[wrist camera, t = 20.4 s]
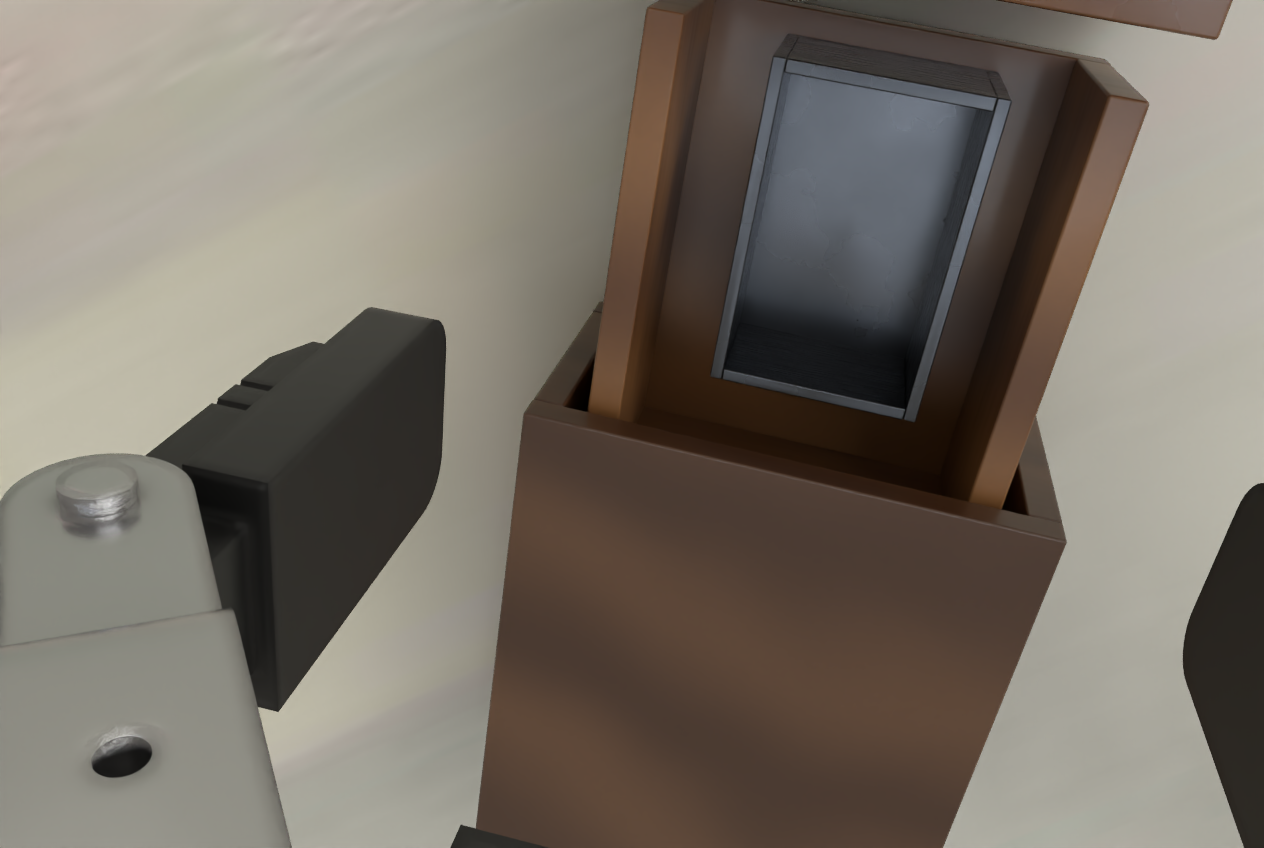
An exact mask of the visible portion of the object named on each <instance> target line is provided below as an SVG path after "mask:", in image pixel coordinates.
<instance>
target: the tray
mask: <svg viewBox="0 0 1264 848" xmlns="http://www.w3.org/2000/svg"><path fill="white" fill-rule="evenodd" d="M1011 104H1012V100H1011V98H1010V96H1009V94H1008V91H1007V89H1006V87H1005V85H1004V83H1003V81H1002V78H1001V76H1000V74H999V73H998V72H995V71H989V70H984V69H979V68H973V67H968V66H962V65H957V64H951V63H946V62H941V61H935V60H930V59H924V58H919V57H914V56H908V55H903V54H897V53H892V52H886V51H881V50H876V49H870V48H865V47H859V46H854V45H848V44H843V43H838V42H832V41H827V40H821V39H816V38H811V37H805V36H799V35H794V34H787V35H786V37H785V38H784V40H783V41H782V43H781V45H780V46H779V48H778V49H777V51H776V52H775V54H774V56H773V57H772V62H771V67H770V72H769V77H768V82H767V87H766V92H765V97H764V103H763V108H762V113H761V118H760V123H759V128H758V133H757V138H756V143H755V148H754V153H753V158H752V163H751V169H750V174H749V179H748V184H747V189H746V194H745V199H744V204H743V209H742V214H741V219H740V224H739V229H738V235H737V240H736V245H735V250H734V255H733V260H732V265H731V270H730V275H729V280H728V285H727V290H726V295H725V300H724V306H723V311H722V316H721V321H720V326H719V331H718V336H717V341H716V346H715V351H714V356H713V361H712V366H711V372H710V377H713V378H717V379H721V378H722V379H723V380H726V381H731V382H735V383H740V384H744V385H749V386H753V387H758V388H762V389H766V390H771V391H775V392H780V393H784V394H789V395H793V396H798V397H802V398H807V399H811V400H816V401H820V402H825V403H829V404H834V405H838V406H842V407H847V408H851V409H856V410H860V411H865V412H869V413H874V414H878V415H883V416H887V417H892V418H896V419H901V420H902V419H903V420H905V421H910V422H915V421H916V418H917V415H918V412H919V408H920V405H921V402H922V398H923V395H924V392H925V388H926V385H927V382H928V378H929V375H930V372H931V369H932V365H933V362H934V359H935V355H936V352H937V349H938V345H939V342H940V339H941V335H942V332H943V329H944V325H945V322H946V319H947V316H948V312H949V309H950V306H951V302H952V299H953V296H954V292H955V289H956V286H957V282H958V279H959V276H960V272H961V269H962V266H963V263H964V259H965V256H966V253H967V249H968V246H969V243H970V239H971V236H972V233H973V229H974V226H975V223H976V219H977V216H978V213H979V210H980V206H981V203H982V200H983V196H984V193H985V190H986V186H987V183H988V180H989V176H990V173H991V170H992V166H993V163H994V160H995V157H996V153H997V150H998V147H999V143H1000V140H1001V137H1002V133H1003V130H1004V127H1005V123H1006V120H1007V117H1008V113H1009V110H1010V107H1011Z"/></svg>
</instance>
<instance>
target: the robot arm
mask: <svg viewBox="0 0 1264 848" xmlns="http://www.w3.org/2000/svg"><path fill="white" fill-rule="evenodd" d="M445 363H446V336H445V330H444V327H443V325H442V323H441V322H440V321H439V320H434V319H429V318H424V317H419V316H414V315H409V314H403V313H398V312H393V311H388V310H383V309H378V308H373V307H370V308H367V309H366V310H364V311H363V312H362V313H361V314H359V315H358V316H357V317H356V318H355V319H354V320H352V321H351V322H350V323H349V324H348V325H346V326H345V327H344V328H343V329H342V330H340V331H339V332H338V333H337V334H336V335H335V336H333V337H332V338H331V339H330V340H329V341H327V342H326V343H325V344H322V343H317V342H311V343H308V344H305V345H303V346H300V347H297V348H294V349H292V350H289V351H286V352H283V353H281V354H278V355H275V356H272V357H270V358H268V359H267V360H266V361H265V362H263V363H262V364H261V365H260V366H258V367H257V368H256V369H254V370H253V371H252V372H251V373H249V374H248V375H247V376H246V377H244V378H243V379H242V380H241V384H240V385H236V384H235V385H234V386H233V387H232V388H230V389H229V390H228V391H227V392H225V393H224V394H223V395H222V396H220V397H219V398H218V401H217V404H213V403H211V404H210V405H209V406H208V407H206V408H205V409H204V410H203V411H201V412H200V413H199V414H198V415H196V416H195V417H194V418H192V419H191V420H190V421H189V422H187V423H186V424H185V425H184V426H182V427H181V428H180V429H179V430H177V431H176V432H175V433H174V434H172V435H171V436H170V437H168V438H167V439H166V440H165V441H163V442H162V443H161V444H160V445H158V446H157V447H156V448H155V449H153V450H152V451H151V452H149V453H148V454H147V455H146V456H143V455H134V454H99V455H90V456H83V457H77V458H73V459H69V460H64V461H61V462H58V463H55V464H52V465H49V466H46V467H44V468H41V469H39V470H37V471H34V472H33V473H31V474H29V475H27V476H26V477H24V478H22V479H21V480H19V481H18V482H17V483H15V484H14V485H13V486H12V487H11V488H10V489H9V490H8V491H7V492H6V493H5V494H4V496H3V498H2V499H1V501H0V848H292V846H291V842H290V838H289V834H288V830H287V826H286V821H285V817H284V813H283V809H282V805H281V801H280V797H279V793H278V788H277V784H276V780H275V776H274V772H273V768H272V764H271V760H270V755H269V751H268V747H267V743H266V739H265V735H264V731H263V727H262V723H261V718H260V714H259V710H258V707H261V708H265V709H269V710H273V711H277V712H279V710H280V709H281V708H282V706H283V705H284V703H285V702H286V701H287V699H288V698H289V697H290V695H291V694H292V692H293V691H294V690H295V688H296V687H297V686H298V684H299V683H300V681H301V680H302V679H303V677H304V676H305V675H306V673H307V672H308V671H309V669H310V668H311V666H312V665H313V664H314V662H315V661H316V660H317V658H318V657H319V655H320V654H321V653H322V651H323V650H324V649H325V647H326V646H327V644H328V643H329V642H330V640H331V639H332V638H333V636H334V635H335V633H336V632H337V631H338V629H339V628H340V627H341V625H342V624H343V622H344V621H345V620H346V618H347V617H348V616H349V614H350V613H351V611H352V610H353V609H354V607H355V606H356V605H357V603H358V602H359V600H360V599H361V598H362V596H363V595H364V594H365V592H366V591H367V589H368V588H369V587H370V585H371V584H372V583H373V581H374V580H375V579H376V577H377V576H378V574H379V573H380V572H381V570H382V569H383V568H384V566H385V565H386V563H387V562H388V561H389V559H390V558H391V557H392V555H393V554H394V552H395V551H396V550H397V548H398V547H399V546H400V544H401V543H402V541H403V540H404V539H405V537H406V536H407V535H408V533H409V532H410V530H411V529H412V528H413V526H414V525H415V524H416V522H417V521H418V519H419V518H420V517H421V515H422V514H423V513H424V511H425V510H426V508H427V506H428V504H429V502H430V500H431V498H432V495H433V492H434V490H435V486H436V483H437V479H438V475H439V470H440V465H441V458H442V439H443V413H444V388H445ZM1183 669H1184V676H1185V679H1186V683H1187V686H1188V689H1189V691H1190V694H1191V697H1192V700H1193V703H1194V706H1195V709H1196V711H1197V714H1198V717H1199V720H1200V723H1201V726H1202V729H1203V731H1204V734H1205V737H1206V740H1207V743H1208V746H1209V749H1210V751H1211V754H1212V757H1213V760H1214V763H1215V766H1216V769H1217V771H1218V774H1219V777H1220V780H1221V783H1222V786H1223V789H1224V791H1225V794H1226V797H1227V800H1228V803H1229V806H1230V809H1231V812H1232V814H1233V817H1234V820H1235V823H1236V826H1237V829H1238V832H1239V834H1240V837H1241V840H1242V843H1243V846H1244V848H1264V483H1260V484H1257V485H1255V486H1253V487H1252V488H1251V489H1250V490H1249V491H1248V492H1247V493H1246V495H1245V496H1244V498H1243V499H1242V501H1241V503H1240V505H1239V507H1238V509H1237V511H1236V513H1235V515H1234V518H1233V520H1232V522H1231V524H1230V527H1229V529H1228V531H1227V534H1226V536H1225V538H1224V540H1223V543H1222V545H1221V547H1220V550H1219V552H1218V554H1217V556H1216V559H1215V561H1214V563H1213V565H1212V568H1211V570H1210V572H1209V575H1208V577H1207V579H1206V581H1205V584H1204V586H1203V588H1202V590H1201V593H1200V595H1199V597H1198V600H1197V602H1196V604H1195V606H1194V609H1193V611H1192V613H1191V616H1190V619H1189V622H1188V625H1187V629H1186V634H1185V639H1184V648H1183ZM451 848H549V847H545V846H541V845H537V844H533V843H529V842H525V841H521V840H518V839H514V838H510V837H506V836H502V835H498V834H494V833H490V832H487V831H483V830H479V829H475V828H471V827H467V826H463V825H461V826H460V828H459V830H458V832H457V835H456V837H455V839H454V841H453V843H452V846H451Z"/></svg>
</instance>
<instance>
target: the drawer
mask: <svg viewBox="0 0 1264 848" xmlns="http://www.w3.org/2000/svg"><path fill="white" fill-rule="evenodd" d="M998 1H1004V2H1009V3H1015V4H1020V5H1026V6H1031V7H1037V8H1042V9H1048V10H1053V11H1059V12H1064V13H1070V14H1075V15H1080V16H1086V17H1091V18H1097V19H1102V20H1108V21H1113V22H1119V23H1124V24H1130V25H1135V26H1141V27H1146V28H1152V29H1157V30H1163V31H1168V32H1174V33H1179V34H1185V35H1190V36H1196V37H1201V38H1207V39H1212V40H1215V39H1217V38H1218V37H1219V35H1220V32H1221V29H1222V27H1223V24H1224V22H1225V19H1226V16H1227V14H1228V11H1229V9H1230V6H1231V3H1232V1H1233V0H998ZM787 34H794V35H799V36H805V37H811V38H816V39H821V40H827V41H832V42H838V43H843V44H848V45H854V46H859V47H865V48H870V49H876V50H881V51H886V52H892V53H897V54H903V55H908V56H914V57H919V58H924V59H930V60H935V61H941V62H946V63H951V64H957V65H962V66H968V67H973V68H979V69H984V70H989V71H995V72H998V73H999V74H1000V76H1001V78H1002V81H1003V83H1004V85H1005V87H1006V89H1007V91H1008V94H1009V96H1010V98H1011V100H1012V104H1011V107H1010V110H1009V113H1008V117H1007V120H1006V123H1005V127H1004V130H1003V133H1002V137H1001V140H1000V143H999V147H998V150H997V153H996V157H995V160H994V163H993V166H992V170H991V173H990V176H989V180H988V183H987V186H986V190H985V193H984V196H983V200H982V203H981V206H980V210H979V213H978V216H977V219H976V223H975V226H974V229H973V233H972V236H971V239H970V243H969V246H968V249H967V253H966V256H965V259H964V263H963V266H962V269H961V272H960V276H959V279H958V282H957V286H956V289H955V292H954V296H953V299H952V302H951V306H950V309H949V312H948V316H947V319H946V322H945V325H944V329H943V332H942V335H941V339H940V342H939V345H938V349H937V352H936V355H935V359H934V362H933V365H932V369H931V372H930V375H929V378H928V382H927V385H926V388H925V392H924V395H923V398H922V402H921V405H920V408H919V412H918V415H917V418H916V421H915V422H910V421H905V420H903V419H902V420H901V419H896V418H892V417H887V416H883V415H878V414H874V413H869V412H865V411H860V410H856V409H851V408H847V407H842V406H838V405H834V404H829V403H825V402H820V401H816V400H811V399H807V398H802V397H798V396H793V395H789V394H784V393H780V392H775V391H771V390H766V389H762V388H758V387H753V386H749V385H744V384H740V383H735V382H731V381H726V380H723V379H722V378H721V379H717V378H713V377H710V372H711V366H712V361H713V356H714V351H715V346H716V341H717V336H718V331H719V326H720V321H721V316H722V311H723V306H724V300H725V295H726V290H727V285H728V280H729V275H730V270H731V265H732V260H733V255H734V250H735V245H736V240H737V235H738V229H739V224H740V219H741V214H742V209H743V204H744V199H745V194H746V189H747V184H748V179H749V174H750V169H751V163H752V158H753V153H754V148H755V143H756V138H757V133H758V128H759V123H760V118H761V113H762V108H763V103H764V97H765V92H766V87H767V82H768V77H769V72H770V67H771V62H772V57H773V56H774V54H775V52H776V51H777V49H778V48H779V46H780V45H781V43H782V41H783V40H784V38H785V37H786V35H787ZM1148 107H1149V102H1148V101H1147V100H1146V99H1145V98H1144V97H1143V96H1142V95H1141V94H1140V93H1139V92H1138V91H1137V90H1136V89H1134V88H1133V87H1132V86H1131V85H1130V84H1129V83H1128V82H1127V81H1126V80H1125V79H1124V78H1123V77H1122V76H1121V75H1120V74H1119V73H1118V72H1117V71H1116V70H1115V69H1114V68H1113V67H1112V66H1111V65H1110V64H1109V63H1108V62H1107V61H1106V60H1105V59H1101V58H1095V57H1090V56H1085V55H1079V54H1074V53H1069V52H1063V51H1058V50H1052V49H1047V48H1042V47H1036V46H1031V45H1026V44H1020V43H1015V42H1010V41H1004V40H999V39H993V38H988V37H983V36H977V35H972V34H967V33H961V32H956V31H950V30H945V29H940V28H934V27H929V26H924V25H918V24H913V23H908V22H902V21H897V20H891V19H886V18H881V17H875V16H870V15H865V14H859V13H854V12H848V11H843V10H838V9H832V8H827V7H822V6H816V5H811V4H806V3H800V2H795V1H789V0H659V1H657V2H656V3H654V4H652V5H651V6H649V7H647V9H646V15H645V22H644V29H643V36H642V43H641V49H640V56H639V63H638V70H637V77H636V83H635V90H634V97H633V104H632V111H631V118H630V124H629V131H628V138H627V145H626V152H625V159H624V165H623V172H622V179H621V186H620V193H619V200H618V206H617V213H616V220H615V227H614V234H613V240H612V247H611V254H610V261H609V268H608V275H607V281H606V288H605V295H604V302H603V309H602V316H601V322H600V329H599V336H598V343H597V350H596V356H595V363H594V370H593V377H592V384H591V391H590V397H589V404H588V411H587V412H589V413H593V414H597V415H601V416H606V417H610V418H614V419H618V420H623V421H627V422H631V423H635V424H640V425H644V426H648V427H652V428H657V429H661V430H665V431H669V432H674V433H678V434H682V435H686V436H691V437H695V438H699V439H703V440H708V441H712V442H716V443H720V444H725V445H729V446H733V447H737V448H742V449H746V450H750V451H754V452H759V453H763V454H767V455H771V456H776V457H780V458H784V459H788V460H793V461H797V462H801V463H805V464H810V465H814V466H818V467H822V468H827V469H831V470H835V471H839V472H844V473H848V474H852V475H857V476H861V477H865V478H869V479H874V480H878V481H882V482H886V483H891V484H895V485H899V486H903V487H908V488H912V489H916V490H920V491H925V492H929V493H933V494H937V495H942V496H946V497H950V498H954V499H959V500H963V501H967V502H971V503H976V504H980V505H984V506H988V507H993V508H997V509H1002V507H1003V504H1004V501H1005V498H1006V496H1007V493H1008V490H1009V487H1010V485H1011V482H1012V479H1013V477H1014V474H1015V471H1016V468H1017V466H1018V463H1019V460H1020V457H1021V455H1022V452H1023V449H1024V446H1025V444H1026V441H1027V438H1028V435H1029V433H1030V430H1031V427H1032V425H1033V422H1034V419H1035V416H1036V414H1037V411H1038V408H1039V405H1040V403H1041V400H1042V397H1043V394H1044V392H1045V389H1046V386H1047V383H1048V381H1049V378H1050V375H1051V373H1052V370H1053V367H1054V364H1055V362H1056V359H1057V356H1058V353H1059V351H1060V348H1061V345H1062V342H1063V340H1064V337H1065V334H1066V332H1067V329H1068V326H1069V323H1070V321H1071V318H1072V315H1073V312H1074V310H1075V307H1076V304H1077V301H1078V299H1079V296H1080V293H1081V290H1082V288H1083V285H1084V282H1085V280H1086V277H1087V274H1088V271H1089V269H1090V266H1091V263H1092V260H1093V258H1094V255H1095V252H1096V249H1097V247H1098V244H1099V241H1100V238H1101V236H1102V233H1103V230H1104V228H1105V225H1106V222H1107V219H1108V217H1109V214H1110V211H1111V208H1112V206H1113V203H1114V200H1115V197H1116V195H1117V192H1118V189H1119V187H1120V184H1121V181H1122V178H1123V176H1124V173H1125V170H1126V167H1127V165H1128V162H1129V159H1130V156H1131V154H1132V151H1133V148H1134V145H1135V143H1136V140H1137V137H1138V135H1139V132H1140V129H1141V126H1142V124H1143V121H1144V118H1145V115H1146V113H1147V110H1148Z"/></svg>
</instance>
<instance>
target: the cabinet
mask: <svg viewBox="0 0 1264 848" xmlns="http://www.w3.org/2000/svg"><path fill="white" fill-rule="evenodd" d="M602 309H603V302H599V303H598V305H597V306H596V308H595V309H594V311H593V313H592V314H591V316H590V317H589V319H588V320H587V322H586V323H585V325H584V326H583V328H582V329H581V331H580V332H579V334H578V335H577V336H576V338H575V339H574V341H573V342H572V344H571V345H570V347H569V348H568V350H567V351H566V353H565V354H564V356H563V357H562V359H561V360H560V362H559V363H558V365H557V366H556V368H555V369H554V370H553V372H552V373H551V375H550V376H549V378H548V379H547V381H546V382H545V384H544V385H543V387H542V388H541V390H540V391H539V393H538V394H537V396H536V397H535V399H534V400H533V401H532V402H531V404H530V405H529V407H528V408H527V410H526V411H525V413H524V415H523V424H522V432H521V441H520V450H519V458H518V467H517V476H516V484H515V493H514V501H513V510H512V519H511V527H510V536H509V545H508V553H507V562H506V571H505V579H504V588H503V597H502V605H501V614H500V623H499V631H498V640H497V649H496V657H495V666H494V675H493V683H492V692H491V700H490V709H489V718H488V726H487V735H486V744H485V752H484V761H483V770H482V778H481V787H480V796H479V804H478V813H477V822H476V829H479V830H483V831H487V832H490V833H494V834H498V835H502V836H506V837H510V838H514V839H518V840H521V841H525V842H529V843H533V844H537V845H541V846H545V847H549V848H943V846H944V844H945V841H946V839H947V836H948V834H949V831H950V829H951V826H952V824H953V821H954V819H955V816H956V814H957V811H958V809H959V807H960V804H961V802H962V799H963V797H964V794H965V792H966V789H967V787H968V784H969V782H970V779H971V777H972V774H973V772H974V770H975V767H976V765H977V762H978V760H979V757H980V755H981V752H982V750H983V747H984V745H985V742H986V740H987V738H988V735H989V733H990V730H991V728H992V725H993V723H994V720H995V718H996V715H997V713H998V710H999V708H1000V705H1001V703H1002V701H1003V698H1004V696H1005V693H1006V691H1007V688H1008V686H1009V683H1010V681H1011V678H1012V676H1013V673H1014V671H1015V668H1016V666H1017V664H1018V661H1019V659H1020V656H1021V654H1022V651H1023V649H1024V646H1025V644H1026V641H1027V639H1028V636H1029V634H1030V632H1031V629H1032V627H1033V624H1034V622H1035V619H1036V617H1037V614H1038V612H1039V609H1040V607H1041V604H1042V602H1043V599H1044V597H1045V595H1046V592H1047V590H1048V587H1049V585H1050V582H1051V580H1052V577H1053V575H1054V572H1055V570H1056V567H1057V565H1058V563H1059V560H1060V558H1061V555H1062V553H1063V550H1064V548H1065V545H1066V543H1067V542H1066V537H1065V533H1064V529H1063V525H1062V520H1061V516H1060V512H1059V508H1058V504H1057V500H1056V495H1055V491H1054V487H1053V483H1052V479H1051V475H1050V471H1049V467H1048V463H1047V459H1046V455H1045V451H1044V447H1043V442H1042V438H1041V434H1040V430H1039V426H1038V422H1037V418H1036V416H1035V419H1034V422H1033V425H1032V427H1031V430H1030V433H1029V435H1028V438H1027V441H1026V444H1025V446H1024V449H1023V452H1022V455H1021V457H1020V460H1019V463H1018V466H1017V468H1016V471H1015V474H1014V477H1013V479H1012V482H1011V485H1010V487H1009V490H1008V493H1007V496H1006V498H1005V501H1004V504H1003V507H1002V509H997V508H993V507H988V506H984V505H980V504H976V503H971V502H967V501H963V500H959V499H954V498H950V497H946V496H942V495H937V494H933V493H929V492H925V491H920V490H916V489H912V488H908V487H903V486H899V485H895V484H891V483H886V482H882V481H878V480H874V479H869V478H865V477H861V476H857V475H852V474H848V473H844V472H839V471H835V470H831V469H827V468H822V467H818V466H814V465H810V464H805V463H801V462H797V461H793V460H788V459H784V458H780V457H776V456H771V455H767V454H763V453H759V452H754V451H750V450H746V449H742V448H737V447H733V446H729V445H725V444H720V443H716V442H712V441H708V440H703V439H699V438H695V437H691V436H686V435H682V434H678V433H674V432H669V431H665V430H661V429H657V428H652V427H648V426H644V425H640V424H635V423H631V422H627V421H623V420H618V419H614V418H610V417H606V416H601V415H597V414H593V413H589V412H587V411H588V404H589V397H590V391H591V384H592V377H593V370H594V363H595V356H596V350H597V343H598V336H599V329H600V322H601V316H602Z"/></svg>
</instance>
